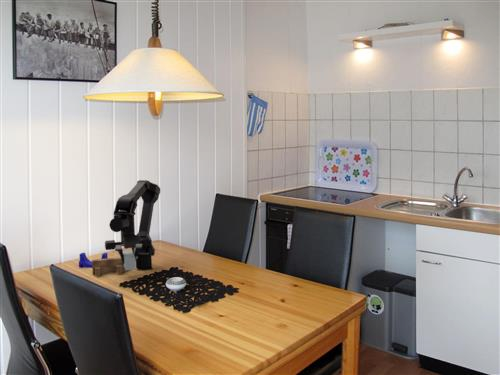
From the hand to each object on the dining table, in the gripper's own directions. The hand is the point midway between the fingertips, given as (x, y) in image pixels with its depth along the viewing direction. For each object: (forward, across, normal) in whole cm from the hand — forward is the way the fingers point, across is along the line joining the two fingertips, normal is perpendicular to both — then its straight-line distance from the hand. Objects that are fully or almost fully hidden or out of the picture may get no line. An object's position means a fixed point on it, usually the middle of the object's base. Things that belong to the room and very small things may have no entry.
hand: (128, 263), depth 217 cm
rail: (+1, 0, 0) cm, 1 cm away
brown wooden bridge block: (+6, -7, +10) cm, 14 cm away
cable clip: (+7, -14, +25) cm, 29 cm away
